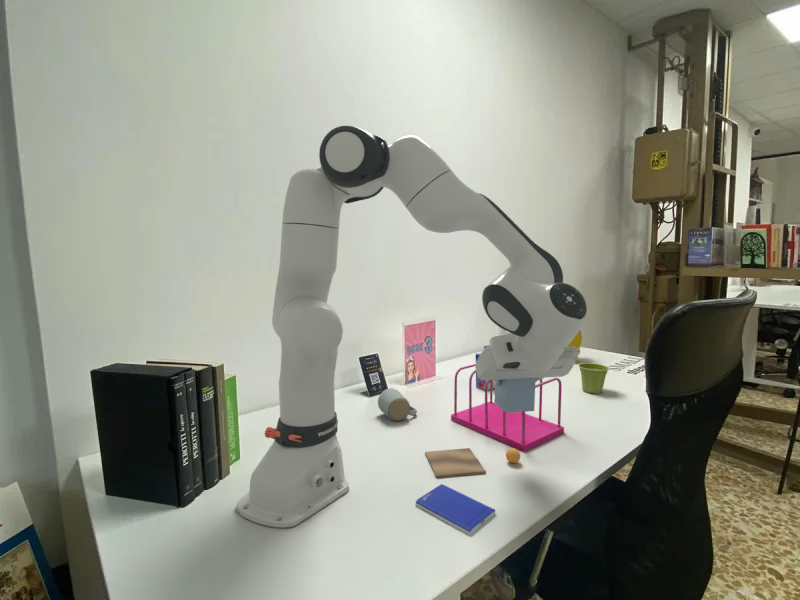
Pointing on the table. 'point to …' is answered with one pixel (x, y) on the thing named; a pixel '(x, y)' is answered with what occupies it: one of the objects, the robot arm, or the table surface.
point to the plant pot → (593, 377)
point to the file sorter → (507, 419)
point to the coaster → (454, 463)
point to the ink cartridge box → (482, 382)
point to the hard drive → (455, 508)
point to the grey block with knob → (516, 395)
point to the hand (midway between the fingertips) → (513, 382)
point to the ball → (513, 455)
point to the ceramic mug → (395, 405)
